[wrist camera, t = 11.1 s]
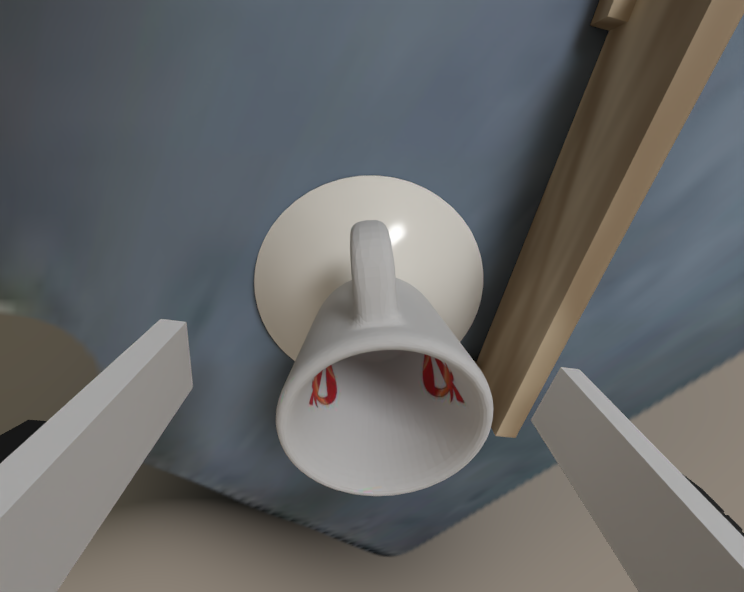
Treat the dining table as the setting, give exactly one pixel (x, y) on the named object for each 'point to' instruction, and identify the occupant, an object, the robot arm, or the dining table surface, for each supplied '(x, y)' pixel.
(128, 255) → the dining table surface
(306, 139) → the dining table surface
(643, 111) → the rail
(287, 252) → the coaster
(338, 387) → the cup
